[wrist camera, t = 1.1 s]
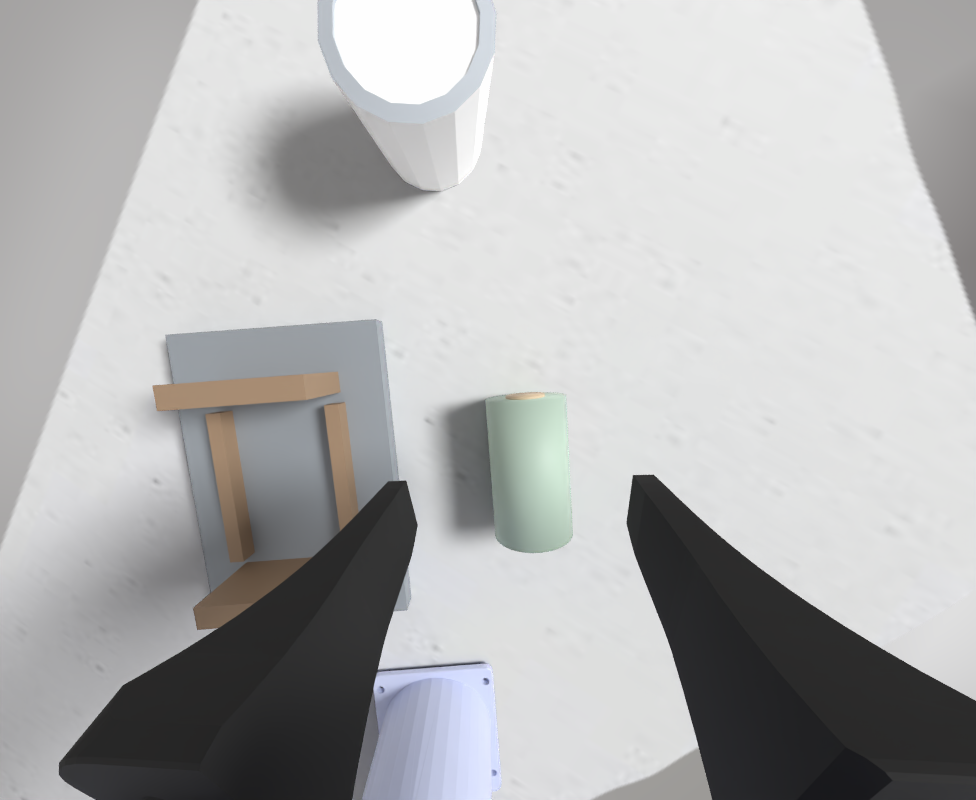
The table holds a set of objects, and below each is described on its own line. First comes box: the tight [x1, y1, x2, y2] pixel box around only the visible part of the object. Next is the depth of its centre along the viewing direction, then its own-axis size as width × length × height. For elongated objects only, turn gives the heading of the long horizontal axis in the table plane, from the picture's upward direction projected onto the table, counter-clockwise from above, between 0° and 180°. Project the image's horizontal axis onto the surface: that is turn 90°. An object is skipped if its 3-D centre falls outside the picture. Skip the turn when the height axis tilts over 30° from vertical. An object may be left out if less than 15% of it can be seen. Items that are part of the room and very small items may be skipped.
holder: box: [153, 319, 411, 630], centre depth 20 cm, size 18×12×5 cm, turn 4°
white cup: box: [318, 0, 496, 191], centre depth 17 cm, size 7×7×7 cm
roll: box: [485, 392, 573, 553], centre depth 20 cm, size 8×4×4 cm, turn 4°
